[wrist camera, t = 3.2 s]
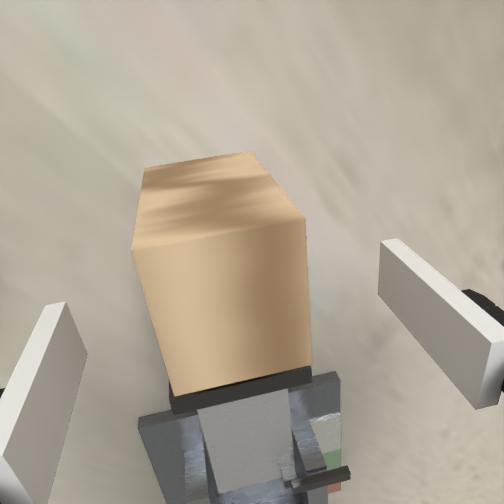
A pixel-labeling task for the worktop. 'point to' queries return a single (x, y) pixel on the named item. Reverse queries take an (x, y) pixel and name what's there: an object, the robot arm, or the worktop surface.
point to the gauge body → (258, 495)
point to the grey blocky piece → (253, 431)
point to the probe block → (222, 271)
